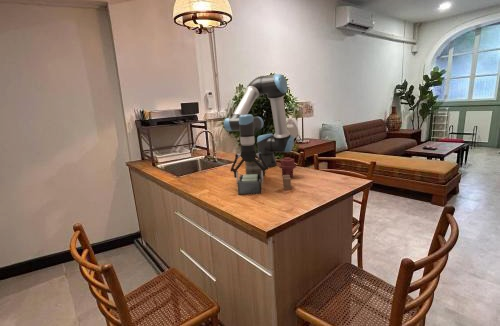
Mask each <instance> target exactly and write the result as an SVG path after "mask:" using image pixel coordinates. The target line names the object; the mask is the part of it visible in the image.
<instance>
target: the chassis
mask: <svg viewBox="0 0 500 326" xmlns="http://www.w3.org/2000/svg"><path fill="white" fill-rule="evenodd" d="M243 175H244V174H240V175H239V176H238V179H239V180H238V183H237V182H236V185H237V194H238V196H243V195H246V196H249V195H262V189H263V188H262V187H263V186H262V184H263V183H262V181H261V174H258V180H257V182H242V178H243ZM248 175H249V174H248Z"/></svg>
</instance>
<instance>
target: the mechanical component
mask: <svg viewBox="0 0 500 326" xmlns="http://www.w3.org/2000/svg"><path fill="white" fill-rule="evenodd" d="M278 167H279V169H281V171H282V172H281V176H282V177H283V175H290V178H291V179H292V178H294V169H295V168H296V163H295V158H291V157H289V156H288V157H287V156H286V157H284V158H281V159H280V164H279V165H278Z"/></svg>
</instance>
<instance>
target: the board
mask: <svg viewBox="0 0 500 326" xmlns="http://www.w3.org/2000/svg"><path fill="white" fill-rule="evenodd" d="M242 175H243V178H242V182H257V180H258V174H249V175H246V174H242Z"/></svg>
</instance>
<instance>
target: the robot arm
mask: <svg viewBox="0 0 500 326" xmlns="http://www.w3.org/2000/svg"><path fill="white" fill-rule="evenodd" d="M287 92H288V82H287V78H286V77H285V76H284V75H283V74H269V75H260V76H257V77H255V78H254V79H252V81H250V82H249V83H248V84H247V86H246V88H245V89H244V94H243V96H242V97H241V100H240V101H239V103H238V105H237V107H236V108H235V110H234V111H233V114H232V115H231V116H230V117H226V118H225V119H224V120H223V128H224V129H225V131H227V132H239V138H240V139H239V141H240V153H236V154H235V155H234V156H235V157H234V160H233V163H232V166H231V168H230V172H232V173H233V176H234V179H236V184H237V183H238V180H240V179H239V171H238V170H239V168H240V167H241V166H242V165H243V163H245V162H248V161H249V162H252V161H254V162H255V163H256V164H257V165H258V166H259V167H260V168H261V169H262V170H261V174H262V184H264V181H263V180H264V177H266V170H267V171H268V170H269V168H273V167H276V166H277V163H278V162H277V160H276V157H275V153H290V152H292V150H293V149H294V144H295V137H294V135H291V132H290V131H289V130H288V124H287V116H286V110H285V102H284V97H285V96H286V93H287ZM262 95H267V96H266V97H267V99H269V101H270V106H271V108H270V109H271V112H272V113H271V114H272V119H273V127H274V131H275V132H274V134H273V133H265V134H262V135H258V136H257V139H256V140H255V132H257V131H260V130H261V129H262V128H263V127H264V120H263V118H262V117H260V116H254V115H253V114H249V112H250V110H251V108H252V107H253V104H254V103H255V101H256V99H258V98H259V97H260V96H262ZM255 141H256V144H257V152H256V145H255ZM240 158H241V160H240V162H238V164H237V161H238V159H240ZM257 160H261V161H262V165H261V164H260V163H259V162H258V161H257ZM236 164H237V165H236Z"/></svg>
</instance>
